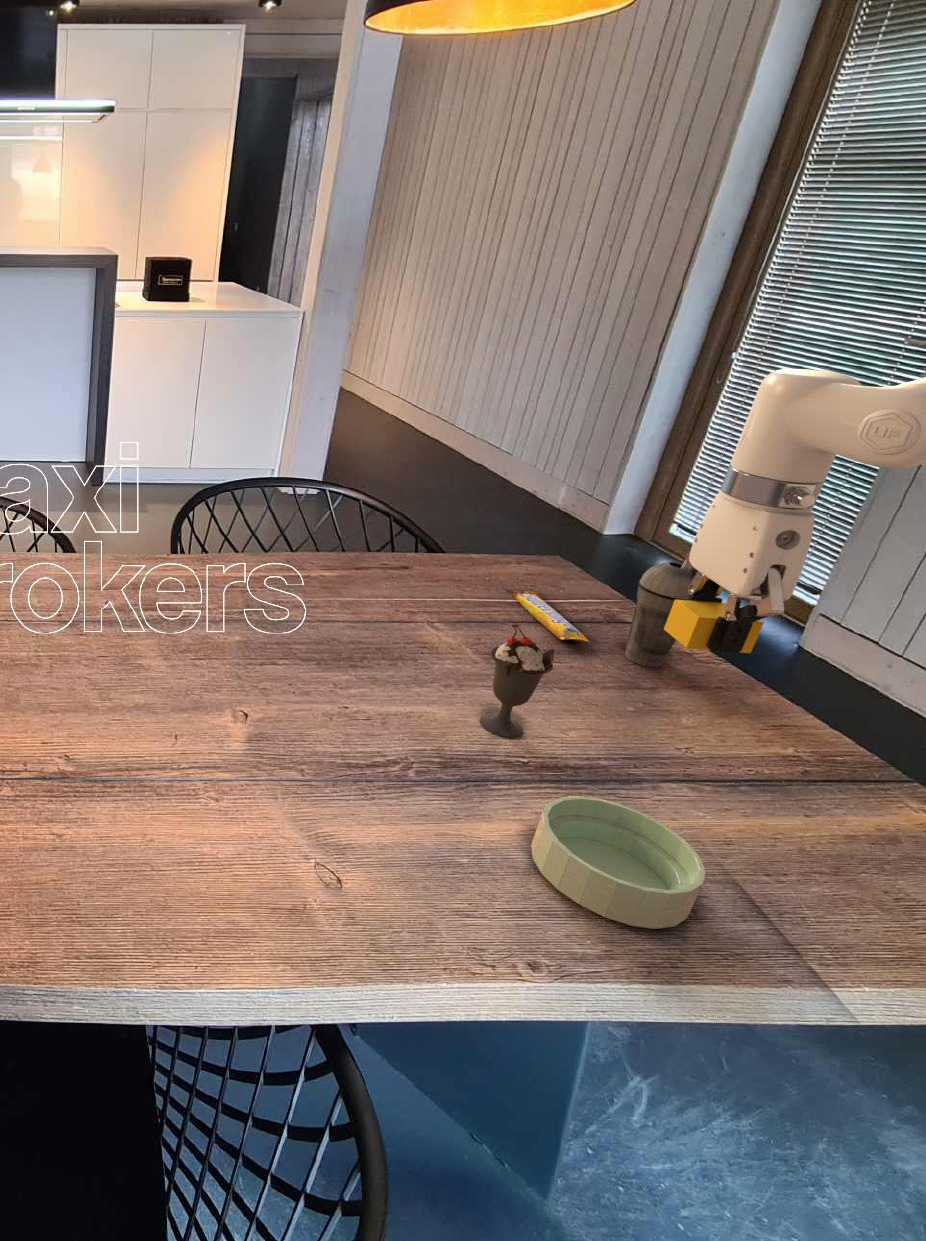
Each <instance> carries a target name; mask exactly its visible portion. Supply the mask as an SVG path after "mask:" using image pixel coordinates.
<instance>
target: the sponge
mask: <svg viewBox="0 0 926 1241" xmlns="http://www.w3.org/2000/svg"><path fill="white" fill-rule="evenodd" d="M726 605H727V602H722V603H716V602H702V601H689V600H675V601H674V603H673V606H672V609H671V611H670V614H669V617H668V619H667V622H666V624H665V627H664V630H665V631H666V632H667V633H669V634H670V635H671V636H672V637H674V638H675V639H676V641H677V642H679V644H681V645H682V646H683V647H685V648H686V649H692V650H693V649H694V650H705V651H711V650H710V649H709V648H708V647H707V644H708V641H709V639H710V636H711V634H712V631H713V629H714V626H715V624H716V622H717V619H718V617H724V614H725V609H726ZM741 607H742V606H741V605H740V608H741ZM764 624H765V622H764V621H763V620H762V619H760V621H759V622H758V623H753V625H752V627H751V630H750V632H749V634H748V637H747V639H746V641H745V644H744V646H743V648H742V650H741V651H740V652H739V653H741V654H751V653H752V652H753V649H754V647H755V645H756V643H757V640H758V637H759V635H760V633H761V630H762V628H763V626H764Z"/></svg>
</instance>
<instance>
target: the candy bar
mask: <svg viewBox="0 0 926 1241" xmlns="http://www.w3.org/2000/svg"><path fill="white" fill-rule="evenodd" d="M512 594H513V597H514V598H515V600H516V601H517V602H518V603H519V604H520V605H521V606H522V607H523V608H524V609H525V610H526V611H527V612H528V613H529V614H530V615H531V616H532V617H534V618H535V619H536V620H537V621H538V622H539V623H540V624H541V625H543V627H545V628H546V629H547V630H548V631H550V632H551V633H552V634H553V635H554V636H555V637H557V638H558V639H559V640H562V641H564V640H565V641H567V640H568V641H569V640H570V641H579V642H580V641H582V642H584V643H585V642H586V643H592V641H591V640H590V641H589V639H588V638H587V637H585V635H584V634H583V633H582V632H581V631H579V630H578V629H577V628H576V627H575V626H573V625H572V624H571V623H570V622H569V621H568V620H567V619H565V617H563V616H562V615H561V614H560V613H558V612H557V611H556V610H555V609H554V608H552V607H551V606H550V605H549V604H548V603H547V602H545V601H544V600H543V599H541V598H540V597H539V594H540V593H539V592H537V591H531V590H524V591H523V593H522V591H521V590H515V591H513V593H512Z"/></svg>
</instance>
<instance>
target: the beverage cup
mask: <svg viewBox="0 0 926 1241" xmlns="http://www.w3.org/2000/svg"><path fill="white" fill-rule="evenodd" d="M689 571H690V569H689V566H688V564H687V561H686V559H685V560H684V562H683V563H680V562H675V561H667V562H660V563H658V564H656V565H653V566H651V567H650V568H648V569H647V570H646V571H645V572H644V573H643V574H642V576H641V578H640V579H639V580H638V582H637V585H638V587H637V591H636V592H637V593H636V598H637V600H636V604H635V608H634V612H633V616H632V620H631V625H630V629H629V632H628V637H627V642H626V648H625V652H624V656H625V658H627V659H628V660H629V661H631V662H633V663H635V664H637V665H641V666H644V667H650V668H659V667H661V666H663V663H664V661H665V660H666V658H668V656H669V653H670V652H671V650H672V648H673V646H674V645H675V643H676V641H677V640H676V639H675V638H674V637H672V636H671V635H670V634H669V633H667V632H666V631H665V630H664V627H665V624H666V622H667V619H668V617H669V614H670V611H671V609H672V606H673V603H674V601H675V600H688V597H689V595H691V594H689V593H688V586H689V585H690V583H691V580H690V575H689Z"/></svg>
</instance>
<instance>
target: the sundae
mask: <svg viewBox="0 0 926 1241" xmlns="http://www.w3.org/2000/svg"><path fill="white" fill-rule="evenodd" d="M511 627H512V628H513V629H514V630H515V632H514V634H513V636H512V637H508V638H507V640H506V643H503V644H502V645H497V646H495V647H493V648H492V650H491V651H490V659H491V660H493V661H494V674H493V680H492V681H493V682H492V692H493V695H494V696H495V697H496V699H497V700H498V701H499V702H500V703H501V706H500V710H499V712H498V714H495V713H487V714H484V715H481V716H480V718H479V723H480V725H481V726H482V727H483V728H484V729H485V730H487V731H488V732H490V733H492V734H495V735H498V736H500V737H504V738H508V739H509V738H512V739H513V738H519V737H521V736H523V734H524V729H523V727H522V726H521V725H520V724H519V723H518V722H517V721H515V720H514V719H512V718H511V715H512V710H513V708H514V707H518V706H522V705H524V704H526V703H528V702H529V700H530V699H531V697H532V696H533V694H534V693H535V690H536V689H537V687H538V685H539V683H540V682H541V679H542V677H543V676H544V675H545V674H548V673H550V672H552V671H553V667H554V664H553V663H552V662H553V660H554V658H555V657H554V656H555V655H554V654H555V649H554V648H550V649H549V650H547V651H544V652H543V649H542V648H541V646H540V645H538V643H537V642H535V641H533V640H532V639H531V638H529V637H527V636H525V634H524V633H523V632H522V630H521V629H520V627H519V624H514V623H513V624H511ZM517 631H519V632H520V634H521V635H522V638H520V639H518V638H516V636H517V633H518V632H517Z"/></svg>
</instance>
